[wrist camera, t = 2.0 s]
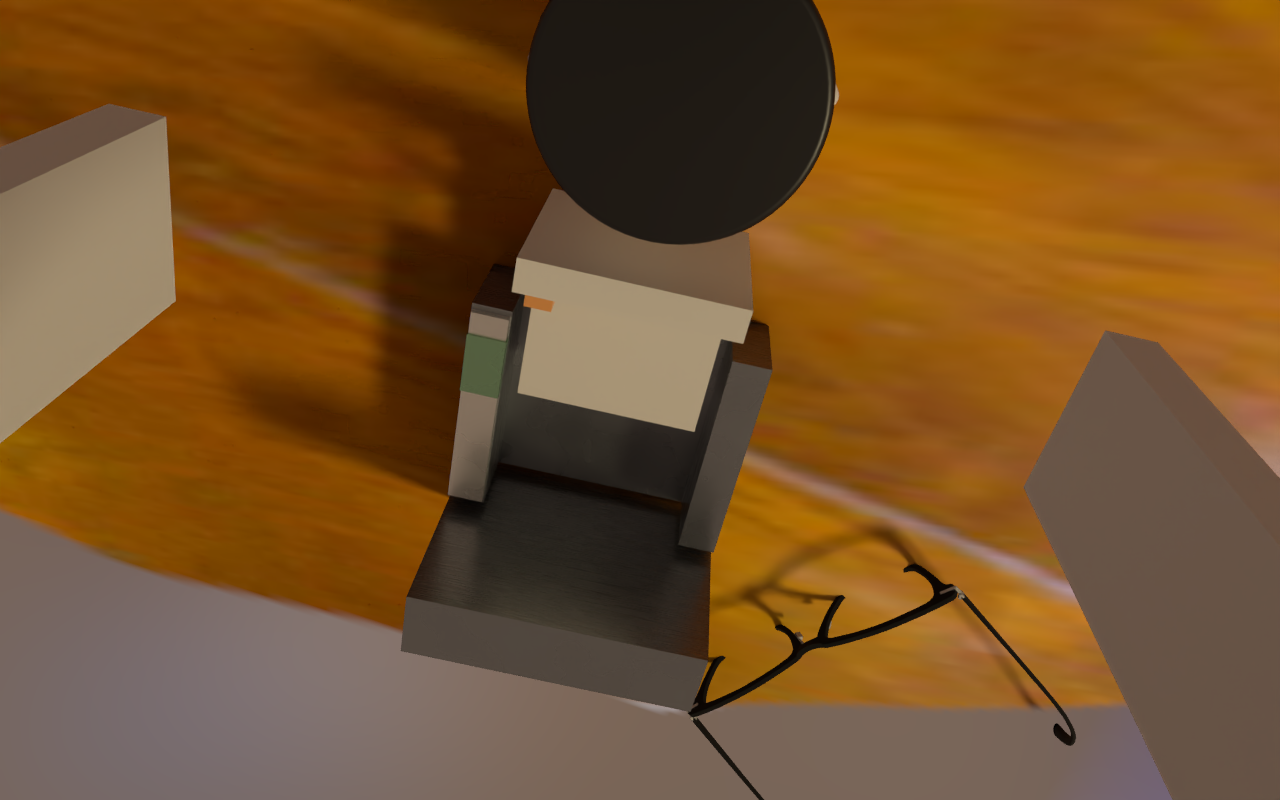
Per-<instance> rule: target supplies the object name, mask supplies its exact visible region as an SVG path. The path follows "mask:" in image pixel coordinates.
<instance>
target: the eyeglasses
mask: <svg viewBox="0 0 1280 800" xmlns="http://www.w3.org/2000/svg"><path fill="white" fill-rule="evenodd" d="M903 570H904V572H909V571H916V572H917V573H919V574H921V575H922V576H924V577H925V578H926V579H927V580H928V581H929V582H930V583H931V585H932V587H933V591H934V596H933V598H932V599H931V600H930V601H929V602H927V603H926V604H924V605H922V606H920V607H918V608H916V609H914V610H911V611H909V612H907V613H905V614H903V615H901V616H898V617H896V618H894V619H892V620H889V621H887V622H884V623H882V624H879V625H876V626H874V627H871V628H868V629H865V630H861V631H858V632H854V633H851V634H846V635H842V636H838V637H834V638H828V630H829V628H830V627H831V620H832V618H833V615H834V614H835V612H836V610H837V609H838V607H839V606H840V604H841V602H842V601H843V600H844V599H845V597H844V596H843V595H841V596H838V597H836V599H835V600H834V601H833V603H832V604H831V606H830V608H829V609H828V611H827V613H826V615H825V617H824V619H823V622H822V624H821V626H820V629H819V632H818V636H817V637H816V638H814V639H812V640H809V641H807V642H805V643H803V641H802V638H803V636H802V634H801V633H800V632H795V634H794V633H793V632H792V631H791V630H789V629H788V628H787V627H785V626H783V625H778V626H776V627H775V628H776V630H779V631H782V632H784V633H785V634H786V635H788V636H789V638H790V640H791V642H792V646H793V651H792V654H791V655H790V656H789V657H788V658H787V659H786V660H784V661H783V662H782V663H780V664H779V665H777V666H776V667H775V668H773V669H772V670H770V671H768V672H767V673H765V674H764V675H762V676H760V677H759V678H757V679H755V680H754V681H752V682H750V683H749V684H747V685H745V686H744V687H742V688H740V689H738V690H736V691H734V692H732V693H729V694H727V695H725V696H723V697H721V698H718V699H716V700H714V701H711V702H708V703H706V696H707V691H708V687H709V685H710V682H711V679H712V677H713V675H714V673H715V671H716V669H717V667H718V665H719V664H720V663H721V661H723V660H724V659H725V658H726V657H724V656H720V657H718V658H716V659H715V660H714V661H713V662H712V664H711V666H710V668H709V670H708V672H707V674H706V676H705V678H704V680H703V682H702V685H701V687H700V689H699V692H698V694H697V696H696V698H695V700H694V703H693V706H692V709H691V712H689V711H686V712H687V713H688V715H689V716H690V719H691V720H692V721H693V722H694V724H695V725H696V726H697V727H698V728H699V729H700V731H701V732H702V733H703V734H704V735H705V737H706V738H707V739H708V740H709V741H710V743H711V744H712V745H713V746H714V747H715V748H716V750H717V751H718V752H719V753H720V754H721V756H722V757H723V758H724V759H725V760H726V762H727V763H728V764H729V765H730V766H731V767H732V769H733V770H734V771H735V772H736V773H737V774H738V776H739V777H740V778H741V779H742V780H743V781H744V783H745V784H746V785H747V786H748V787H749V788H750V790H751V791H752V792H753V793H754V794H755V795H756V797H757V798H758V799H759V800H764V799H763V798H762V797H761V795H760V794H759V793H758V792H757V791H756V789H754V787H753V786H752V785H751V784H750V782H749V781H748V780H747V779H746V777H745V776H744V775H743V774H742V773H741V771H740V770H739V769H738V768H737V767H736V765H735V764H734V763H733V761H732V760H731V759H730V758H729V756H728V755H727V754H726V753H725V752H724V750H723V749H722V748H721V747H720V745H719V744H718V743H717V742H716V740H715V739H714V738H713V737H712V735H711V734H710V733H709V732H708V731H707V729H706V728H705V727H704V726H703V724H702V723H701V722H700V721H699V719H698V718H697V716H699V715H702V714H705V713H707V712H710V711H712V710H714V709H717V708H719V707H721V706H723V705H725V704H727V703H730V702H732V701H734V700H736V699H738V698H740V697H741V696H743V695H745V694H747V693H749V692H751V691H752V690H754V689H756V688H758V687H759V686H761V685H763V684H764V683H766V682H767V681H769V680H770V679H772V678H774V677H775V676H777V675H778V674H780V673H781V672H783V671H784V670H786V669H787V668H789V667H790V666H792V665H793V664H794V663H796V662H797V661H798V660H799V659H800V658H801V657H802V655H804V654H805V653H806V652H808V651H810V650H812V649H816V648H828V647H833V646H838V645H842V644H846V643H850V642H853V641H856V640H860V639H863V638H866V637H869V636H873V635H876V634H879V633H881V632H884V631H887V630H890V629H892V628H895V627H897V626H900V625H902V624H904V623H906V622H909V621H911V620H914V619H916V618H918V617H921V616H923V615H925V614H927V613H929V612H931V611H933V610H935V609H937V608H939V607H941V606H943V605H945V604H947V603H949V602H951V601H953V600H954V599H955V598H956V597H957V594H958V593H959V595H958V598H959V599H960V600H961V599H963V601H964V602H965V603H966V604H967V605H968V606H969V607H970V608H971V610H972V611H973V612H974V613H975V614H976V615H977V616H978V618H979V619H980V620H981V621H982V622H983V623H984V624H985V625H986V627H987V628H988V629H989V630H990V631H991V632H992V633H993V635H994V636H995V637H996V638H997V639H998V640H999V641H1000V643H1001V644H1002V645H1003V646H1004V647H1005V648H1006V649H1007V650H1008V652H1009V653H1010V654H1011V655H1012V656H1013V657H1014V658H1015V660H1016V661H1017V662H1018V663H1019V664H1020V665H1021V667H1022V668H1023V669H1024V670H1025V671H1026V672H1027V674H1028V675H1029V676H1030V677H1031V678H1032V679H1033V681H1034V682H1035V683H1036V684H1037V685H1038V686H1039V688H1040V689H1041V690H1042V691H1043V692H1044V693H1045V694H1046V696H1047V697H1048V698H1049V699H1050V700H1051V702H1052V703H1053V704H1054V705H1055V707H1056V708H1057V710H1058V711H1059V712H1060V714H1061V715H1062V716H1063V718H1064V719H1065V721H1066V723H1067V725H1068V727H1069V729H1070V731H1071V736H1069V735H1068V734H1067V733H1066V732H1065V731H1064V730H1063V729H1062V728H1061V726H1059V724H1057V723H1056V724H1055V725H1054V727H1053V732H1054V735H1055V736H1056V737H1057V738H1058V739H1060V740H1061V741H1062V742H1063V743H1065V744H1066V745H1069V746H1071V745H1073V744H1074V743H1075V739H1076V734H1075V731H1074V728H1073V726H1072V724H1071V723H1070V721H1069V719H1068V717H1067V715H1066V714H1065V712H1064V711H1063V710H1062V708H1061V707H1060V706H1059V704H1058V703H1057V702H1056V701H1055V699H1054V698H1053V697H1052V696H1051V695H1050V693H1049V692H1048V691H1047V690H1046V689H1045V687H1044V686H1043V685H1042V684H1041V683H1040V681H1039V680H1038V679H1037V678H1036V677H1035V676H1034V674H1033V673H1032V672H1031V671H1030V670H1029V669H1028V667H1027V666H1026V665H1025V664H1024V663H1023V662H1022V660H1021V659H1020V658H1019V657H1018V656H1017V655H1016V653H1015V652H1014V651H1013V650H1012V649H1011V648H1010V646H1009V645H1008V644H1007V643H1006V642H1005V641H1004V639H1003V638H1002V637H1001V636H1000V635H999V634H998V632H997V631H996V630H995V629H994V628H993V627H992V625H991V624H990V623H989V622H988V621H987V620H986V618H985V617H984V616H983V615H982V614H981V613H980V611H979V610H978V609H977V608H976V607H975V606H974V604H973V603H972V602H971V601H970V600H969V599H968V597H967V596H966V595H965V594H964V593H963V591H961V590H960V589H959V588H958V587H957V586H954V585H952V584H947V585H946V584H943V583H942V582H941V581H939V580H938V579H937V578H936V577H935V576H934V575H932V574H931V573H930V572H929V571H927V570H926V569H924V568H923V567H921V566H920V565H916V564H913V565H910V566H908V567H906V568H904V569H903ZM799 640H800V641H799Z"/></svg>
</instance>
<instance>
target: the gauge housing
mask: <svg viewBox="0 0 1280 800" xmlns="http://www.w3.org/2000/svg"><path fill="white" fill-rule="evenodd" d="M514 273H515V268H511V267H506V266H502V265H497V264H494V265H493V267H492V269H491V271H490V272H489V274H488V276H487V278H486V279H485V281H484V283H483V285H482V286H481V288H480V290H479V292H478V293H477V295H476V297H475V299H474V300H473V302H472V308H471V315H470V323H469V331H468V333H467V337H466V345H465V353H464V361H463V369H462V377H461V384H460V391H461V394H460V402H459V410H458V418H457V426H456V433H455V441H454V449H453V457H452V465H451V473H450V481H449V489H448V495H450V497H449V500H448V502H447V504H446V507H445V509H444V511H443V513H442V516H441V518H440V520H439V523H438V525H437V527H436V530H435V532H434V534H433V537H432V539H431V541H430V544H429V546H428V548H427V551H426V553H425V555H424V557H423V560H422V562H421V564H420V567H419V569H418V571H417V574H416V576H415V578H414V581H413V583H412V585H411V588H410V590H409V592H408V594H407V597H406V607H405V616H404V626H403V635H402V645H401V651H404V652H409V653H413V654H418V655H423V656H428V657H432V658H437V659H442V660H447V661H452V662H456V663H461V664H466V665H470V666H475V667H480V668H485V669H489V670H494V671H499V672H503V673H509V674H513V675H518V676H523V677H527V678H532V679H537V680H541V681H546V682H551V683H556V684H560V685H565V686H570V687H575V688H580V689H584V690H589V691H594V692H598V693H603V694H608V695H613V696H617V697H622V698H627V699H632V700H636V701H641V702H646V703H651V704H655V705H660V706H665V707H670V708H674V709H679V710H684V711H689V712H691V709H692V706H693V703H694V700H695V697H696V694H697V691H698V689H699V686H700V683H701V680H702V677H703V674H704V671H705V668H706V666H707V663H708V647H709V605H710V564H711V552H714V549H715V546H716V543H717V540H718V537H719V533H720V530H721V527H722V524H723V521H724V518H725V515H726V512H727V509H728V506H729V503H730V500H731V496H732V493H733V490H734V487H735V484H736V481H737V478H738V475H739V472H740V469H741V466H742V463H743V459H744V456H745V453H746V450H747V447H748V444H749V441H750V438H751V435H752V432H753V429H754V426H755V422H756V419H757V416H758V413H759V410H760V407H761V404H762V401H763V398H764V395H765V392H766V388H767V385H768V382H769V379H770V376H771V373H772V360H771V348H770V336H769V326H767V325H763V324H758V323H754V322H750V323H749V326H748V330H747V333H746V336H745V340H744V343H743V344H741V343H736V342H732V341H728V340H723V339H721V341H720V344H719V348H718V351H717V355H716V358H715V362H714V365H713V369H712V372H711V376H710V379H709V383H708V386H707V390H706V393H705V397H704V400H703V404H702V407H701V411H700V414H699V418H698V421H697V425H696V428H695V432H692V431H688V430H683V429H679V428H674V427H670V426H665V425H661V424H656V423H652V422H647V421H643V420H638V419H634V418H629V417H625V416H620V415H616V414H611V413H607V412H602V411H597V410H593V409H588V408H584V407H579V406H575V405H570V404H566V403H561V402H557V401H552V400H548V399H543V398H539V397H534V396H530V395H525V394H521V393H517V392H518V386H519V380H520V374H521V368H522V362H523V355H524V349H525V343H526V337H527V331H528V325H529V319H530V313H531V308H530V307H526V306H523V305H524V299H525V295H523V294H519V293H515V292H512V286H513V280H514Z"/></svg>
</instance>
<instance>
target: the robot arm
mask: <svg viewBox="0 0 1280 800" xmlns="http://www.w3.org/2000/svg"><path fill="white" fill-rule="evenodd" d="M175 301H176V298H175V279H174V260H173V241H172V223H171V204H170V185H169V166H168V147H167V128H166V117H164V116H160V115H156V114H151V113H147V112H142V111H138V110H134V109H129V108H125V107H120V106H116V105H112V104H107V105H105V106H102V107H100V108H97V109H95V110H92V111H90V112H87V113H85V114H82V115H80V116H77V117H75V118H72V119H70V120H67V121H65V122H62V123H60V124H57V125H55V126H52V127H50V128H47V129H45V130H42V131H40V132H37V133H35V134H32V135H30V136H27V137H25V138H22V139H20V140H18V141H15V142H13V143H10V144H8V145H5V146H3V147H0V443H1V442H2V441H3V440H5V439H6V438H7V437H8V436H9V435H11V434H12V433H13V432H14V431H16V430H17V429H18V428H19V427H21V426H22V425H23V424H24V423H25V422H27V421H28V420H29V419H30V418H32V417H33V416H34V415H35V414H37V413H38V412H39V411H40V410H42V409H43V408H44V407H45V406H46V405H48V404H49V403H50V402H51V401H53V400H54V399H55V398H56V397H58V396H59V395H60V394H61V393H63V392H64V391H65V390H66V389H67V388H69V387H70V386H71V385H72V384H74V383H75V382H76V381H77V380H79V379H80V378H81V377H82V376H83V375H85V374H86V373H87V372H88V371H90V370H91V369H92V368H93V367H95V366H96V365H97V364H98V363H100V362H101V361H102V360H103V359H104V358H106V357H107V356H108V355H109V354H111V353H112V352H113V351H114V350H116V349H117V348H118V347H119V346H120V345H122V344H123V343H124V342H125V341H127V340H128V339H129V338H130V337H132V336H133V335H134V334H135V333H137V332H138V331H139V330H140V329H141V328H143V327H144V326H145V325H146V324H148V323H149V322H150V321H151V320H153V319H154V318H155V317H156V316H158V315H159V314H160V313H161V312H162V311H164V310H165V309H166V308H167V307H169V306H170V305H171V304H172V303H174V302H175ZM1024 489H1025V491H1026V493H1027V496H1028V498H1029V500H1030V502H1031V504H1032V506H1033V508H1034V510H1035V512H1036V514H1037V516H1038V519H1039V521H1040V523H1041V525H1042V527H1043V529H1044V531H1045V533H1046V535H1047V537H1048V540H1049V542H1050V544H1051V546H1052V548H1053V550H1054V552H1055V554H1056V556H1057V558H1058V561H1059V563H1060V565H1061V567H1062V569H1063V571H1064V573H1065V575H1066V577H1067V579H1068V581H1069V584H1070V586H1071V588H1072V590H1073V592H1074V594H1075V596H1076V598H1077V600H1078V602H1079V605H1080V607H1081V609H1082V611H1083V613H1084V615H1085V617H1086V619H1087V621H1088V623H1089V625H1090V628H1091V630H1092V632H1093V634H1094V636H1095V638H1096V640H1097V642H1098V644H1099V646H1100V649H1101V651H1102V653H1103V655H1104V657H1105V659H1106V661H1107V663H1108V665H1109V667H1110V670H1111V672H1112V674H1113V676H1114V678H1115V680H1116V682H1117V684H1118V686H1119V688H1120V690H1121V693H1122V695H1123V697H1124V699H1125V701H1126V703H1127V705H1128V707H1129V709H1130V711H1131V714H1132V715H1133V718H1134V720H1135V722H1136V724H1137V726H1138V728H1139V730H1140V732H1141V734H1142V737H1143V739H1144V741H1145V743H1146V745H1147V747H1148V749H1149V751H1150V753H1151V755H1152V757H1153V760H1154V762H1155V764H1156V766H1157V768H1158V770H1159V772H1160V774H1161V776H1162V778H1163V781H1164V783H1165V785H1166V787H1167V789H1168V791H1169V793H1170V795H1171V797H1172V799H1173V800H1280V478H1279V477H1278V476H1277V475H1276V474H1275V473H1274V472H1273V470H1272V469H1271V468H1270V467H1269V466H1268V465H1267V464H1266V463H1265V461H1264V460H1263V459H1262V458H1261V457H1260V456H1259V455H1258V454H1257V453H1256V451H1255V450H1254V449H1253V448H1252V447H1251V446H1250V445H1249V444H1248V443H1247V441H1246V440H1245V439H1244V438H1243V437H1242V436H1241V435H1240V434H1239V432H1238V431H1237V430H1236V429H1235V428H1234V427H1233V426H1232V425H1231V424H1230V422H1229V421H1228V420H1227V419H1226V418H1225V417H1224V416H1223V415H1222V414H1221V412H1220V411H1219V410H1218V409H1217V408H1216V407H1215V406H1214V405H1213V403H1212V402H1211V401H1210V400H1209V399H1208V398H1207V397H1206V396H1205V395H1204V393H1203V392H1202V391H1201V390H1200V389H1199V388H1198V387H1197V386H1196V384H1195V383H1194V382H1193V381H1192V380H1191V379H1190V378H1189V377H1188V376H1187V374H1186V373H1185V372H1184V371H1183V370H1182V369H1181V368H1180V367H1179V366H1178V364H1177V363H1176V362H1175V361H1174V360H1173V359H1172V358H1171V357H1170V355H1169V354H1168V353H1167V352H1166V351H1165V350H1164V349H1163V348H1162V347H1161V345H1160V344H1159V343H1158V342H1153V341H1149V340H1145V339H1140V338H1136V337H1131V336H1127V335H1123V334H1118V333H1114V332H1109V331H1105V332H1104V334H1103V336H1102V338H1101V340H1100V342H1099V344H1098V346H1097V348H1096V349H1095V351H1094V353H1093V355H1092V357H1091V359H1090V361H1089V363H1088V365H1087V367H1086V369H1085V371H1084V372H1083V374H1082V376H1081V378H1080V380H1079V382H1078V384H1077V386H1076V388H1075V390H1074V392H1073V394H1072V395H1071V397H1070V399H1069V401H1068V403H1067V405H1066V407H1065V409H1064V411H1063V413H1062V415H1061V417H1060V419H1059V420H1058V422H1057V424H1056V426H1055V428H1054V430H1053V432H1052V434H1051V436H1050V438H1049V440H1048V442H1047V443H1046V445H1045V447H1044V449H1043V451H1042V453H1041V455H1040V457H1039V459H1038V461H1037V463H1036V465H1035V466H1034V468H1033V470H1032V472H1031V474H1030V476H1029V478H1028V480H1027V482H1026V484H1025V486H1024Z"/></svg>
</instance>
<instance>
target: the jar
mask: <svg viewBox="0 0 1280 800" xmlns="http://www.w3.org/2000/svg"><path fill="white" fill-rule="evenodd" d="M526 98H527V107H528V114H529V119H530V123H531V128H532V131H533V135H534V138H535V141H536V144H537V146H538V148H539V151H540V153H541V155H542V158H543V159H544V161H545V163H546V165H547V167H548V169H549V170H550V172H551V173H552V175H553V176H554V178H555V179H556V181H557V182H558V184H559V185H560V186H561V187H562V189H563V190H564V191H565V192H566V193H567V195H568V196H569V197H570V198H571V199H572V200H573V201H574V202H575V203H576V204H577V205H579V206H580V207H581V208H582V209H583V210H584V211H586V212H587V213H588V214H589V215H591V216H592V217H594V218H595V219H597V220H598V221H600V222H601V223H603V224H605V225H607V226H608V227H610V228H612V229H614V230H616V231H619V232H621V233H623V234H625V235H628V236H631V237H634V238H637V239H641V240H645V241H649V242H654V243H661V244H672V245H688V244H699V243H706V242H711V241H715V240H720V239H723V238H726V237H729V236H732V235H735V234H737V233H739V232H742V231H744V230H746V229H748V228H750V227H752V226H754V225H755V224H757V223H759V222H761V221H762V220H764V219H765V218H767V217H768V216H769V215H771V214H772V213H773V212H775V211H776V210H777V209H778V208H779V207H781V206H782V205H783V204H784V203H785V202H786V201H787V200H788V199H789V198H790V197H791V196H792V195H793V194H794V193H795V192H796V190H797V189H798V188H799V187H800V186H801V184H802V183H803V182H804V180H805V179H806V177H807V176H808V174H809V173H810V171H811V170H812V168H813V166H814V165H815V163H816V161H817V159H818V157H819V155H820V153H821V151H822V148H823V146H824V144H825V141H826V138H827V135H828V132H829V128H830V125H831V120H832V116H833V110H834V105H835V104H836V103H837V101H838V99H839V92H838V89H837V86H836V78H835V65H834V58H833V52H832V48H831V44H830V40H829V37H828V33H827V30H826V28H825V25H824V23H823V20H822V18H821V16H820V14H819V11H818V9H817V8H816V6H815V4H814V2H813V1H812V0H550V1H549V3H548V5H547V6H546V8H545V10H544V12H543V13H542V15H541V17H540V20H539V23H538V25H537V28H536V31H535V34H534V37H533V40H532V44H531V48H530V52H529V55H528V64H527V75H526Z"/></svg>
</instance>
